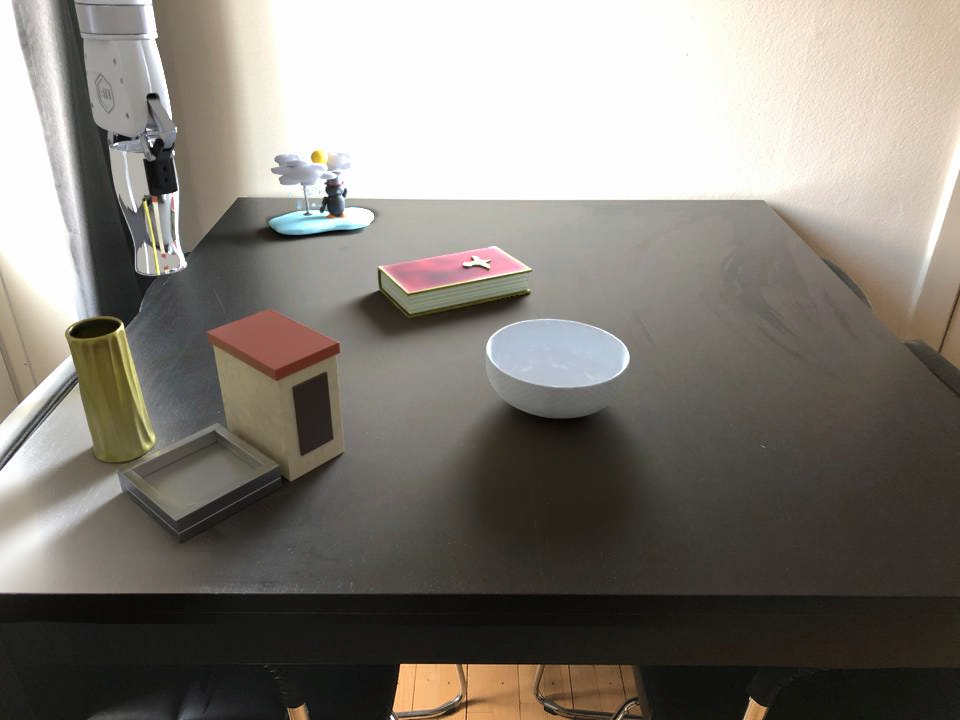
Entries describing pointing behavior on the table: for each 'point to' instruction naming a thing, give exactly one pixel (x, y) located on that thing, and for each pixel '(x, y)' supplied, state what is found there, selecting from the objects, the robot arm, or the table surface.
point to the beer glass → (147, 212)
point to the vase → (110, 389)
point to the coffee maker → (247, 427)
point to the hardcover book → (453, 281)
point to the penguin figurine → (309, 175)
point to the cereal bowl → (556, 367)
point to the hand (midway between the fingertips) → (147, 186)
